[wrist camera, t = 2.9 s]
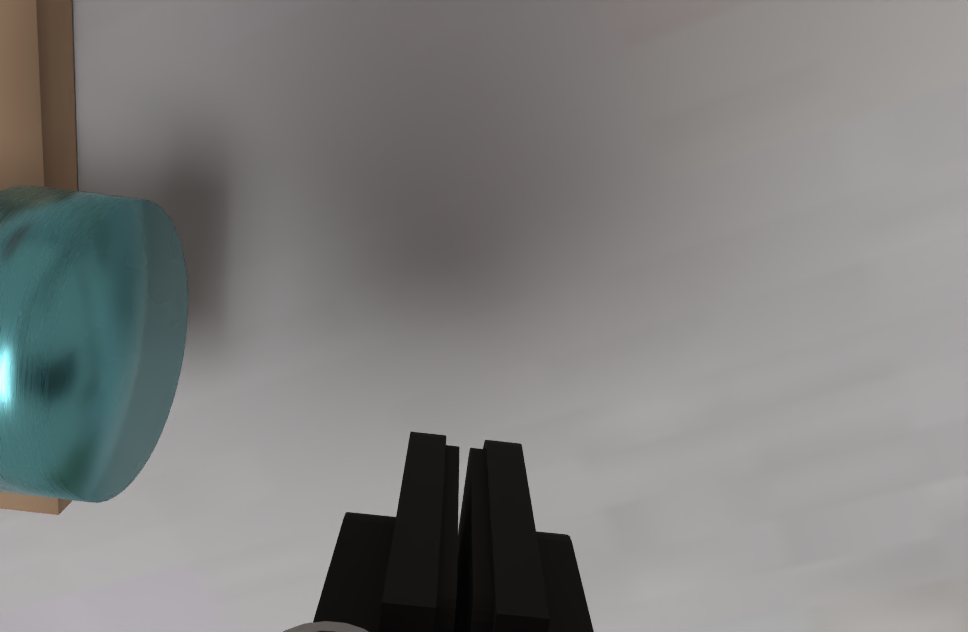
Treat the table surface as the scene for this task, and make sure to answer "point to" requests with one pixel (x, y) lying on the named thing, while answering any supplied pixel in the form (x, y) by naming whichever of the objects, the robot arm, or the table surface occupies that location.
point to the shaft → (85, 339)
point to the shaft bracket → (37, 124)
